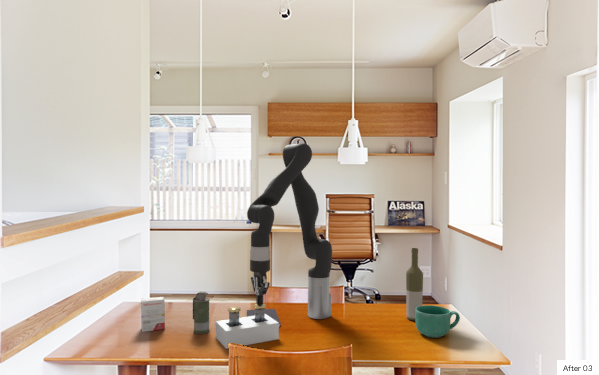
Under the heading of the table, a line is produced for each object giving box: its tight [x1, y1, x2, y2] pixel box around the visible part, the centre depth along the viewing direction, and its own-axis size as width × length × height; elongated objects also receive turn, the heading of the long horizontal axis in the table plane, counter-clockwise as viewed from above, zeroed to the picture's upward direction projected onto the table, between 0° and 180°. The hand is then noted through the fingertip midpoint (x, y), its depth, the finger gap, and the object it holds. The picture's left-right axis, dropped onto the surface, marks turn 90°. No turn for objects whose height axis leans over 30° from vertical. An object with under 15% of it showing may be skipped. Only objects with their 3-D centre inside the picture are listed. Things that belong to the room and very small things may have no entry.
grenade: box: [192, 291, 210, 335], centre depth 163 cm, size 6×6×15 cm
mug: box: [414, 304, 461, 339], centre depth 162 cm, size 17×13×10 cm
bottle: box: [405, 247, 424, 322], centre depth 180 cm, size 7×7×30 cm
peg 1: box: [227, 306, 242, 327], centre depth 154 cm, size 5×5×6 cm
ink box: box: [140, 296, 166, 333], centre depth 166 cm, size 9×5×12 cm, turn 110°
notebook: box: [246, 308, 281, 328], centre depth 179 cm, size 13×2×21 cm
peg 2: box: [253, 303, 267, 323], centre depth 159 cm, size 5×5×6 cm
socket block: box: [215, 314, 280, 349], centre depth 156 cm, size 20×12×6 cm, turn 118°
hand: (259, 304), depth 158 cm, fingers closed
